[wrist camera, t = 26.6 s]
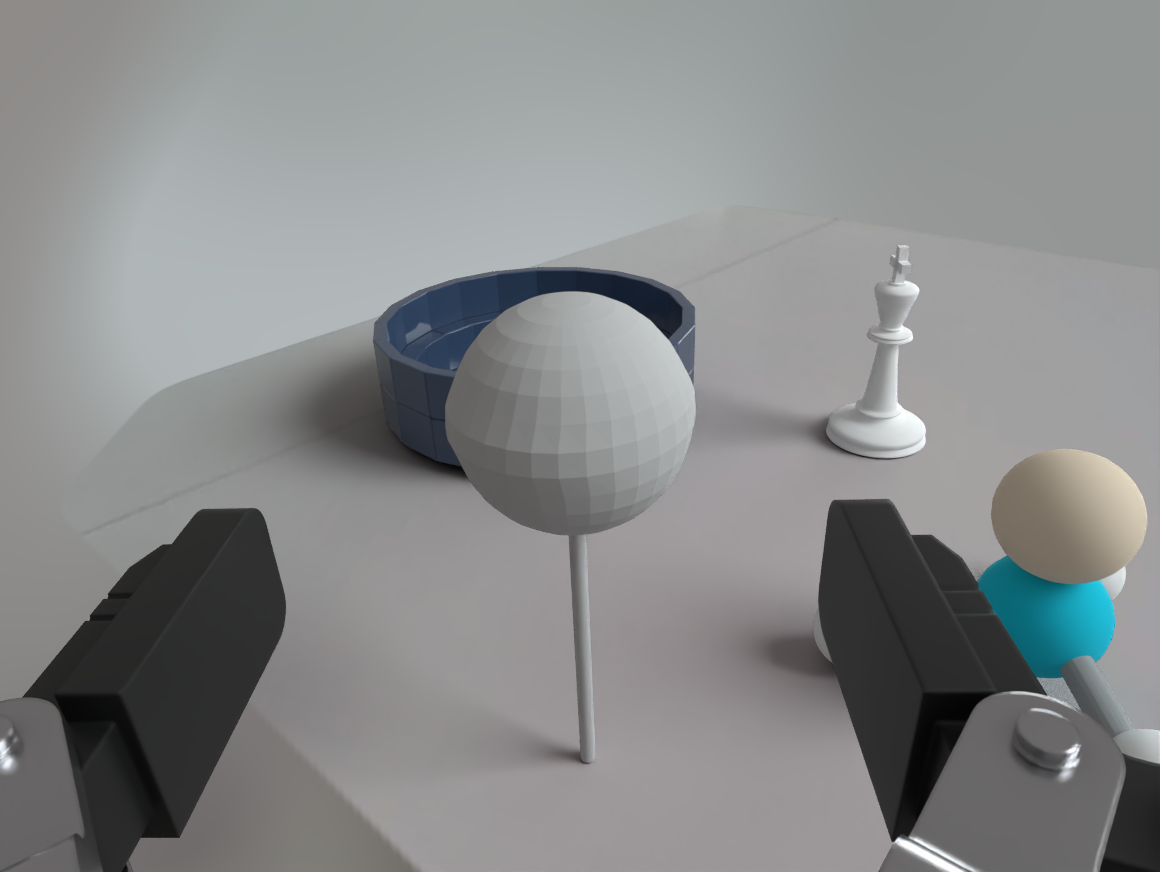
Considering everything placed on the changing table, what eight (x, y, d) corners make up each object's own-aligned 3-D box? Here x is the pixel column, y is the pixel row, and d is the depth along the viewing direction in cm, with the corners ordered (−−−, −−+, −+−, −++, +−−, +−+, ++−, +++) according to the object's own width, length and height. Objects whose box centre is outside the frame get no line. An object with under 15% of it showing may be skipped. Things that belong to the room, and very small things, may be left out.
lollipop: (596, 659, 30) (580, 245, 22) (725, 756, 26) (755, 292, 19) (452, 757, 26) (379, 303, 19) (577, 887, 22) (544, 376, 15)
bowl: (456, 522, 38) (442, 414, 35) (352, 386, 51) (336, 301, 49) (756, 424, 45) (763, 329, 42) (595, 328, 58) (593, 251, 56)
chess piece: (839, 460, 41) (865, 263, 36) (816, 415, 46) (836, 234, 41) (939, 457, 41) (978, 260, 36) (906, 412, 45) (937, 231, 41)
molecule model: (1320, 861, 22) (1479, 602, 18) (869, 858, 23) (920, 606, 18) (1091, 578, 33) (1156, 373, 28) (787, 581, 33) (807, 380, 29)
